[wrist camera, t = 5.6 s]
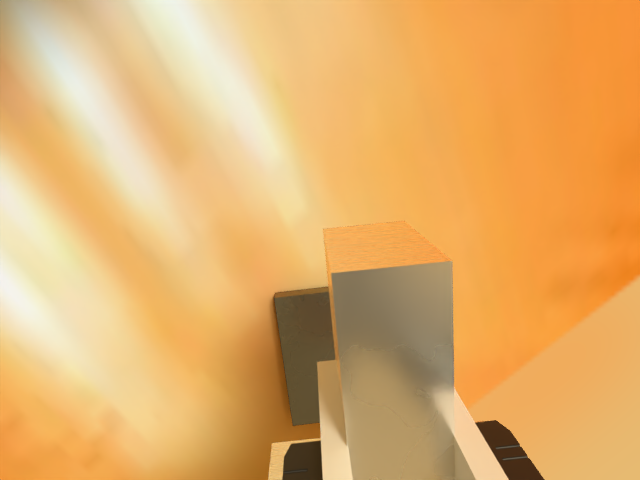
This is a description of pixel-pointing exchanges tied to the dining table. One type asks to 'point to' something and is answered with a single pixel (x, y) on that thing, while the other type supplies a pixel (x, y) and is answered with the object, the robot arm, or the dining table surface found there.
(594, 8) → the dining table surface
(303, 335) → the peg on square plate
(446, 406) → the square loop with stem
